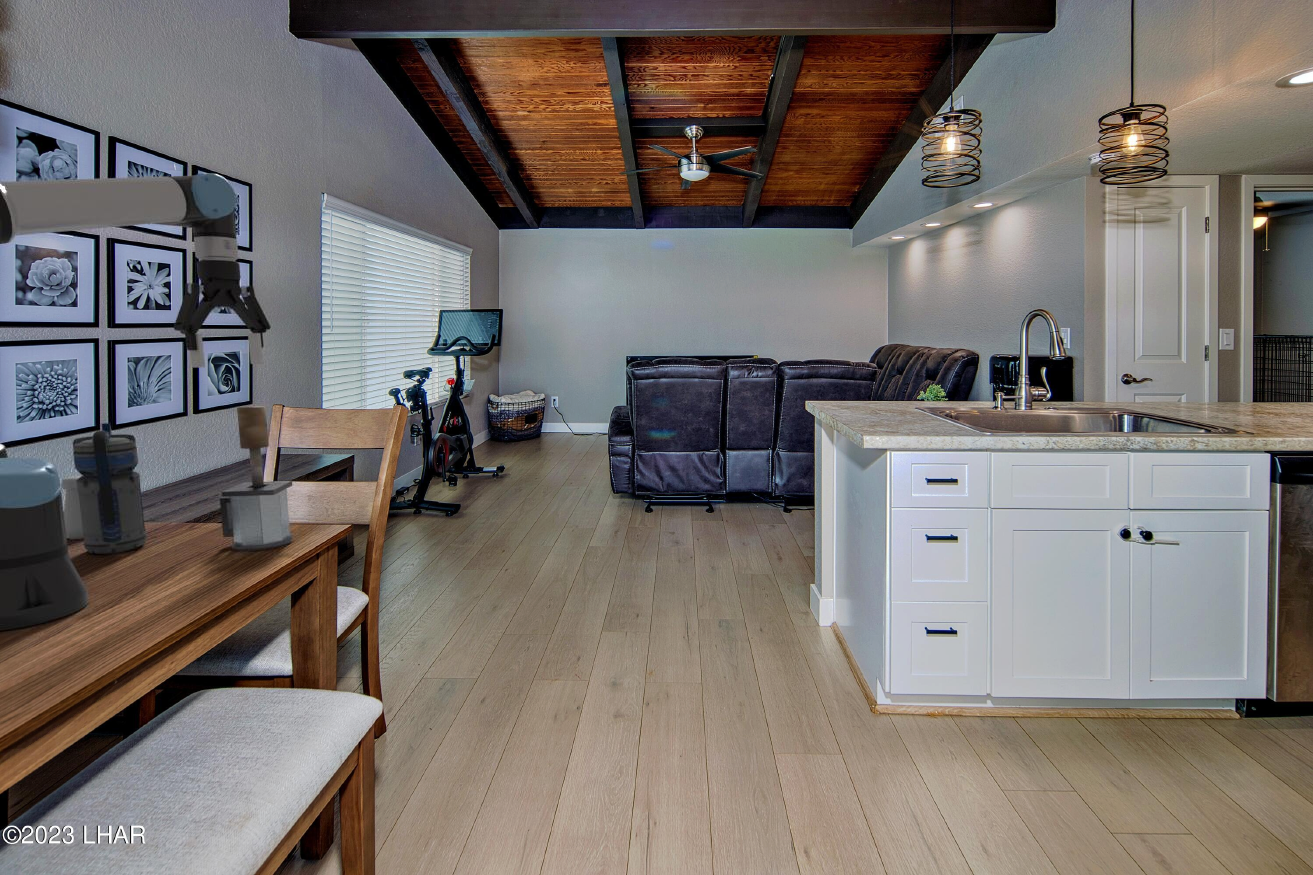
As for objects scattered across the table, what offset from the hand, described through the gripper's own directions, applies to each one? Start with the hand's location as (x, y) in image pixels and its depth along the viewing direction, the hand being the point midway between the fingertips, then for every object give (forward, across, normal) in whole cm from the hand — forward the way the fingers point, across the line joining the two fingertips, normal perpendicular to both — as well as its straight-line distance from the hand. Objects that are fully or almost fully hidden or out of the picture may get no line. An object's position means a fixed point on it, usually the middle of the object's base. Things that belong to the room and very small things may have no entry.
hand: (229, 365), depth 152 cm
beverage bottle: (+36, -17, +15) cm, 43 cm away
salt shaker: (+36, -13, +33) cm, 51 cm away
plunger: (+24, -4, -10) cm, 26 cm away
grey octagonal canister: (+36, -4, -10) cm, 38 cm away
